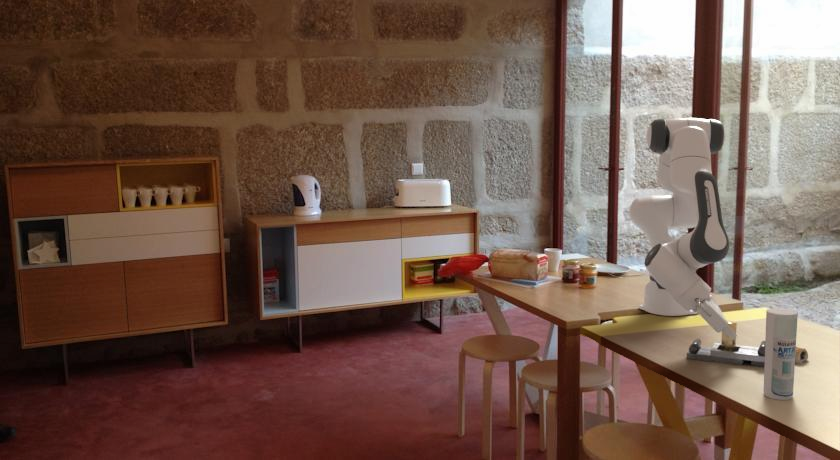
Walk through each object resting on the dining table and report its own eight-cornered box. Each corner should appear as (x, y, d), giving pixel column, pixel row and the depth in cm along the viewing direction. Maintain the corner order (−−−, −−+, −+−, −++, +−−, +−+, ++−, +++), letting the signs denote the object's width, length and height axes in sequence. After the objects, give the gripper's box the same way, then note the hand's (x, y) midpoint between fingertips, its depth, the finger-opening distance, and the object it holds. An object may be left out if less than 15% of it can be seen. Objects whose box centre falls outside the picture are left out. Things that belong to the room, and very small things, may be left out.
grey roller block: (686, 358, 211) (687, 340, 210) (691, 350, 218) (692, 332, 217) (767, 368, 201) (768, 349, 200) (770, 359, 208) (771, 341, 207)
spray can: (782, 389, 185) (786, 307, 183) (799, 399, 179) (804, 313, 176) (757, 391, 184) (760, 308, 182) (773, 401, 178) (777, 315, 175)
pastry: (763, 357, 211) (764, 343, 210) (776, 352, 215) (777, 339, 214) (798, 365, 204) (798, 351, 203) (810, 360, 208) (811, 346, 207)
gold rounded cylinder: (721, 356, 212) (723, 320, 210) (736, 358, 210) (737, 321, 209) (719, 359, 209) (721, 323, 207) (734, 361, 207) (735, 324, 206)
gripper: (707, 295, 198) (747, 335, 197) (699, 279, 218) (735, 315, 217) (688, 312, 200) (728, 351, 199) (681, 294, 220) (717, 330, 219)
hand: (731, 332), depth 208 cm, fingers open, 8 cm apart
